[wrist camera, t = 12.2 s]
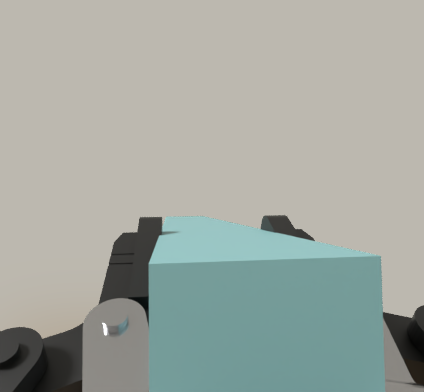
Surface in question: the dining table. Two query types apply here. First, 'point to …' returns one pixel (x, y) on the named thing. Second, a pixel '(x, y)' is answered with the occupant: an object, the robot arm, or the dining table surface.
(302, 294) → the bar
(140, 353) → the robot arm
